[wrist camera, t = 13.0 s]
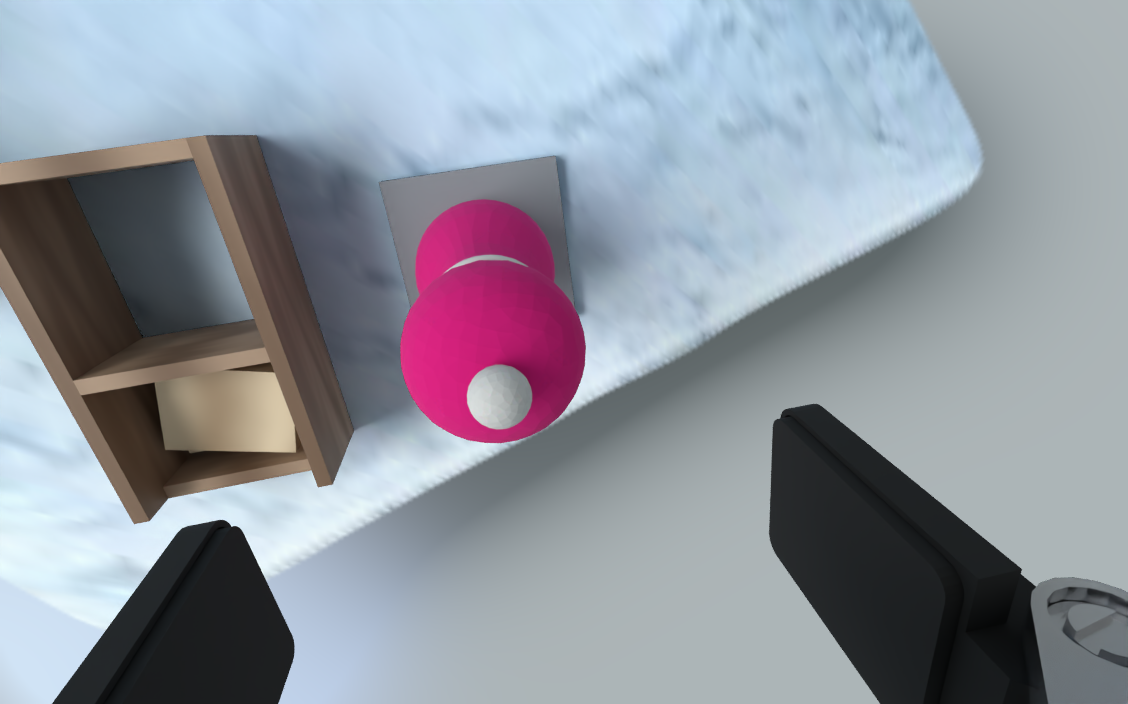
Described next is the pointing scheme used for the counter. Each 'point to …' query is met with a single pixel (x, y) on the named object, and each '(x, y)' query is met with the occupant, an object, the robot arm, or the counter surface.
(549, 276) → the pepper mill
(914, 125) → the counter surface
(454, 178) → the mat
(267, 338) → the box
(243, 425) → the upper offcut
